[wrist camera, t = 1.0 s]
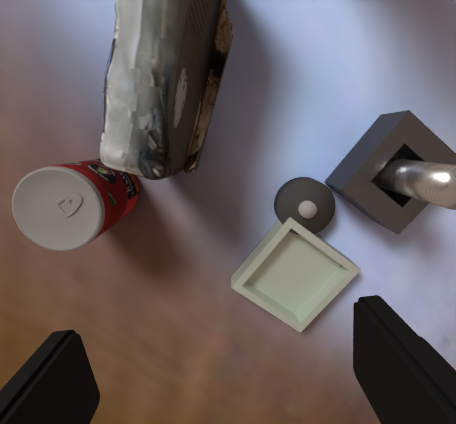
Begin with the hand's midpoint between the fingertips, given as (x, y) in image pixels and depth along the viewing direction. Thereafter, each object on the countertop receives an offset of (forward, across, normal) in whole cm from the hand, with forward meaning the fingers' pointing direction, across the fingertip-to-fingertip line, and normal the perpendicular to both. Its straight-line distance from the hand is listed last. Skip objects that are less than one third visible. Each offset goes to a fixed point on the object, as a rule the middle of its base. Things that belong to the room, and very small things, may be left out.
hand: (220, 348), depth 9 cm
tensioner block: (+26, -20, 0) cm, 32 cm away
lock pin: (+25, -20, 0) cm, 32 cm away
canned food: (+26, +14, -2) cm, 30 cm away
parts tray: (+26, -8, +12) cm, 29 cm away
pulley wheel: (+26, -10, +3) cm, 28 cm away
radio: (+26, +3, -15) cm, 30 cm away
